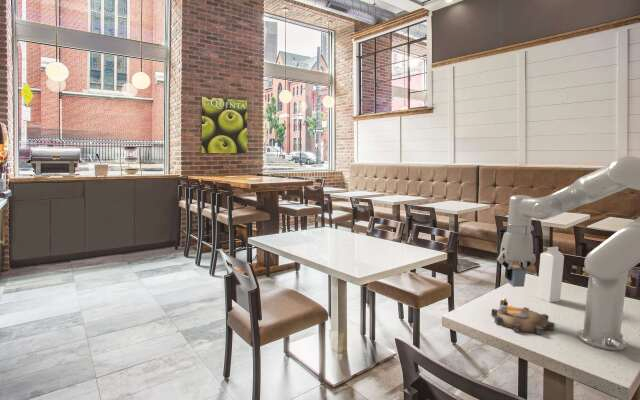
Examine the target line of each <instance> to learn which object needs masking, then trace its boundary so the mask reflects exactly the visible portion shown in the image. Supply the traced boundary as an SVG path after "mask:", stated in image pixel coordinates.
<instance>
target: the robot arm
mask: <svg viewBox="0 0 640 400" xmlns="http://www.w3.org/2000/svg"><path fill="white" fill-rule="evenodd" d="M626 189H632V190H635V191H640V158H639V157H637V156H627V155H626V156H622V157H619V158H616V159H615V160H613V161H612V162H611V163H610V164H608V165H605V166H603V167H601V168H599V169H596V170H594V171H592V172H589V173H588V174H586V175H582V176H581V177H579V178H578V179H576V180H575V181H574V182H573V183H572V184H570V185H569V186H566V187H564V188H562V189H560V190H558V191H556V192H553V193H551V194H549V195H546V196H542V197H532V196H529V195H523V194H514V195H511V196H510V197H509V200H508V201H509V203H508V215H507V217H508V218H507V226H506V228H507V229H506V231H505V232H503V234H502V235H503V236H502V239H501V244H500V249H499V250H500V251H499V255H498V256H497V258H496V261H498V263H500V264H501V265H502V266H503V267H504V268H505V269H504V278H505V277H506V278H507V279H508V280H511V279H512V269H511V267H512V265H513V262H519V266H520V267H521V268H523V269H524V270H525V271H526V270H528V267H530V266H531V264H533V263H535V262H536V258H535V256H534V243H533V242H534V240H533V235H532V232H533V231H534V230H535V227H534V226H532V219H535V220H540V221H542V220H543V221H544V220H548V219H551V218H554V217H557V216H559V215H562V214H564V213H566V212H569V211H571V210H573V209H576V208H578V207H581V206H583V205H587V204H591V203H594V202H596V201H599V200H601V199H604V198H606V197H608V196H610V195H614V194H615V193H618V192H621V191H624V190H626ZM638 264H640V216H638V217H637V218H636V219H634V220H633V221H631V222H629V223H627V224H625V225H624V226H622V227H621V228H620V229H618V230H617V231H616V232H614V233H613V234H612V235H611V236H610V237H608V238H607V239H605V240H603V242H601V243H600V244H599V245H597V246H596V247H594V248H593V249H592V250H591V251H589V252H588V253H587V255H586V256H585V258H584V264H583V265H584V268H585V271H586V272H587V274H588V275H589V276H588V281H587V282H588V283H587V290H586V299H585V300H586V301H585V310H584V318H583V319H584V321H583V328H582V329H579V330H578V331H577V333H576V336H577V338H578V339H579V340H580V341H581V342H583V343H584V344H585V343H586V344H588V345H589V346H591V347H595V348H598V349H599V348H600V349H603V350H609V351H621V350H625V348H627V347H628V346H629V343H628V342H627V341H625V340H623V338H624V334H623V333H622V323H623V314H624V304H625V298H626V292H627V291H626V289H627V283H628V282H627V281H628V276H629V271H630V270H632V268H634V267H635V266H637V265H638Z"/></svg>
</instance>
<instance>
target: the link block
mask: <svg viewBox="0 0 640 400" xmlns="http://www.w3.org/2000/svg"><path fill="white" fill-rule="evenodd" d="M511 269H512V279H511V280H508V279H507V278H506V277H505V276H504V281H505V282H507V283H508V284H509V285H510V286H511V287H515V288H516V287H517V288H518V287H520V288H521V287H525V282H526V281H525V280H526V274H527V271H526V270H524V269H523V268H521V267H520V265H518V264H512V267H511Z"/></svg>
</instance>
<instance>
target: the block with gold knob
mask: <svg viewBox="0 0 640 400" xmlns="http://www.w3.org/2000/svg"><path fill="white" fill-rule="evenodd" d="M499 303H500V304H499V306H500V305H505V306H506V305H507V306H509V305H508V303H509V302H508V301H507V298H502V299H500V302H499Z"/></svg>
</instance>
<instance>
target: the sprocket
mask: <svg viewBox="0 0 640 400" xmlns="http://www.w3.org/2000/svg"><path fill="white" fill-rule="evenodd" d="M490 313H491V316H493V317H494V321H493V322H494V323H495V324H497V325H504V326H506V327H508V328H510V329H512V330H513V332H517V333H519V332H520V331H522V332H527V333H528V332H529V333H536V334H537V335H544V331H546V330H551V331H554V330H555V329H554V328H555V322H552V321H549V315H548V314H546V313H545V314H544V313H542V314H541V313H539V312H536V311H533V310H531V309H529V307H523V308H522V307H521V308H520V307H514V306H513V305H508V306H507V305H506V306H505V305H500V304H499V309H496V308H492V309H491V312H490Z"/></svg>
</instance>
